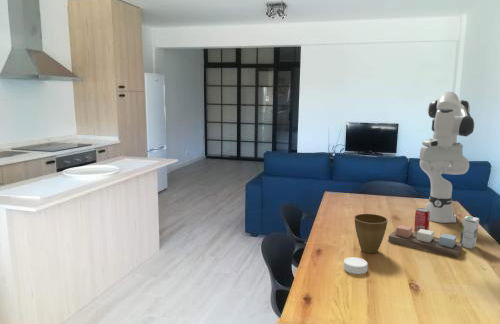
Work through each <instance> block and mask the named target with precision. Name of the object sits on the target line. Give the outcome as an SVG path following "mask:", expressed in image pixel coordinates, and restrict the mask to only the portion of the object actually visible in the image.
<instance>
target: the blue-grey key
mask: <svg viewBox="0 0 500 324" xmlns="http://www.w3.org/2000/svg"><path fill="white" fill-rule="evenodd" d="M439 238H440V239H439V245H442V246H447V247H451V248H453V247H454V246H455V244H456V242H457V236H456V235H453V234H449V233H441V235H440V236H439Z"/></svg>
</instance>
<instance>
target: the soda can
mask: <svg viewBox="0 0 500 324" xmlns="http://www.w3.org/2000/svg"><path fill="white" fill-rule="evenodd" d="M429 219H430V212H429V210H428V209H426V207H425V208H424V207H418V208H416V210H415V213H414V226H413V232H414V233H417V232H418V231H419V230H420V229H424V230H429V231H430V220H429Z"/></svg>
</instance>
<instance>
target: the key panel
mask: <svg viewBox="0 0 500 324" xmlns="http://www.w3.org/2000/svg"><path fill="white" fill-rule="evenodd" d="M439 239H440V237H435V236H433V240H432V241H431V242H430V243H429V242H424V241H420V240H417V233H416V232H414V231H412V235H411V236H410V237H409V238H407V237H402V236H398V235H396V229H395V230H394V231H393V232H391V233H390V234H389V235H388V240H387V242H389V243H394V244H397V245H401V246H405V247H410V248H414V249H417V250H422V251H427V252H430V253H435V254H439V255H443V256H447V257H451V258H455V259H456V258H458V257H459V255H460V253H461V252H462V250H463V247H462V246H463V243H460V241H459V242H458V241H456V244H455V246H454V247H453V248H451V247H447V246H442V245H439Z"/></svg>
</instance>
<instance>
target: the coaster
mask: <svg viewBox="0 0 500 324" xmlns="http://www.w3.org/2000/svg"><path fill="white" fill-rule="evenodd" d="M342 265H343V266H342V268H343V270H344V271H345V272H347V273H350V274H352V275H363V274H366V273H367V272H368V269H369V268H368V267H369V266H368V265H369V262H367V261H366V260H365V259H364V258H360V257H356V256H351V257H346V258H344V259H343V264H342Z"/></svg>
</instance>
